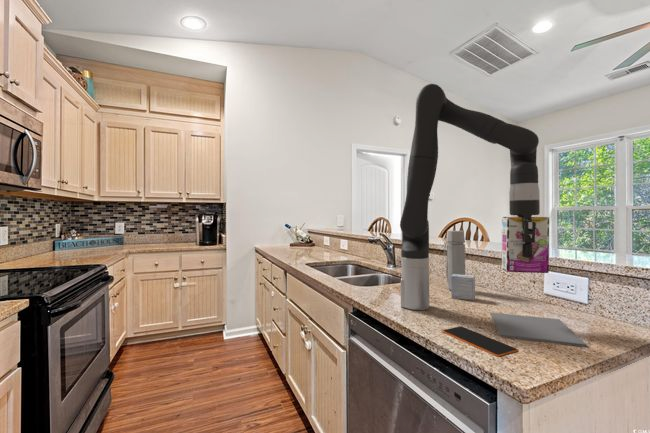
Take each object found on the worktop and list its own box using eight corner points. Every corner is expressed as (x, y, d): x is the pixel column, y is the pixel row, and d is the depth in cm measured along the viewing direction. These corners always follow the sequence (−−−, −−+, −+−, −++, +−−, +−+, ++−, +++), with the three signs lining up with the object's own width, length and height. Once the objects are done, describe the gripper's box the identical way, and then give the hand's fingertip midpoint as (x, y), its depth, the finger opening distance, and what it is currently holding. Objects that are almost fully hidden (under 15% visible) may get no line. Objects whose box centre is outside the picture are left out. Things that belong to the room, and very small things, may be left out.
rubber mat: (500, 336, 79) (500, 334, 79) (490, 314, 96) (490, 312, 96) (586, 347, 72) (586, 344, 72) (559, 321, 90) (559, 319, 90)
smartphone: (498, 359, 67) (498, 355, 67) (441, 333, 83) (441, 330, 83) (520, 352, 70) (520, 348, 70) (461, 328, 86) (461, 325, 86)
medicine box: (475, 298, 115) (475, 275, 115) (474, 301, 112) (473, 277, 112) (453, 295, 120) (452, 273, 120) (451, 298, 116) (450, 275, 116)
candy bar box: (507, 272, 89) (507, 216, 89) (501, 269, 94) (500, 216, 94) (550, 273, 87) (550, 216, 87) (541, 270, 92) (541, 216, 92)
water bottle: (464, 288, 131) (463, 230, 131) (467, 292, 124) (466, 231, 124) (441, 287, 134) (441, 230, 134) (442, 291, 126) (442, 231, 127)
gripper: (546, 197, 82) (547, 259, 82) (532, 200, 96) (533, 253, 96) (514, 198, 85) (515, 258, 85) (505, 200, 98) (505, 252, 98)
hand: (524, 255), depth 90 cm, fingers closed on candy bar box, 5 cm apart
